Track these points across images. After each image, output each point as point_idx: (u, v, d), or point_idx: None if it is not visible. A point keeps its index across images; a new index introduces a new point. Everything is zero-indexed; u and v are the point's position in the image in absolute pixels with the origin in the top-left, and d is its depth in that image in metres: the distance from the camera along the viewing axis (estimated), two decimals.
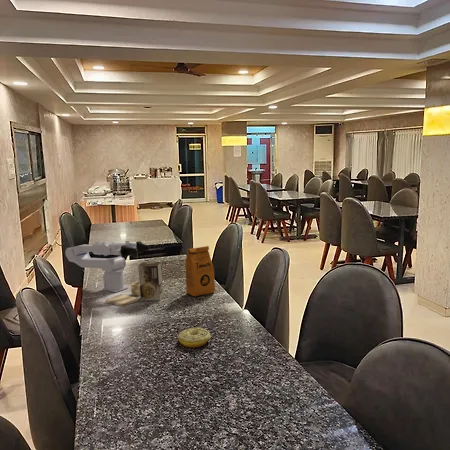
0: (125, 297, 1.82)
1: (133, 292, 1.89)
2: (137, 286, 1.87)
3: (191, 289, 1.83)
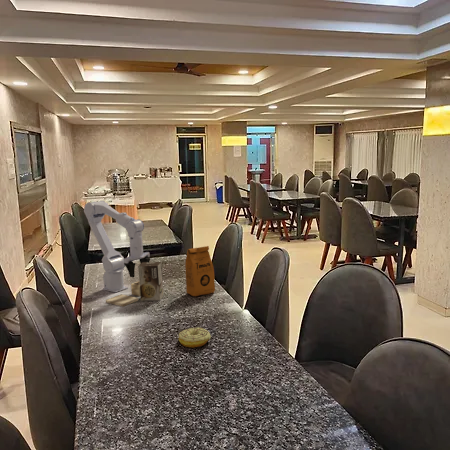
0: (125, 297, 1.82)
1: (133, 292, 1.89)
2: (137, 286, 1.87)
3: (191, 289, 1.83)
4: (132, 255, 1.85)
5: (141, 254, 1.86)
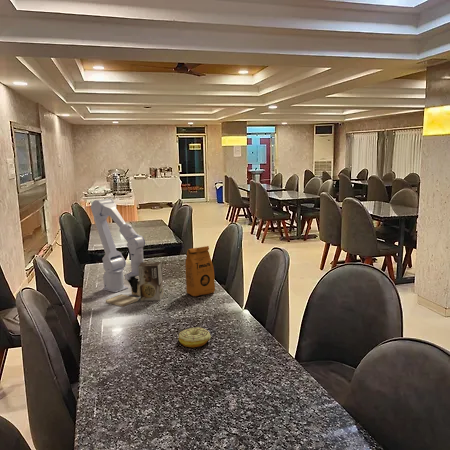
0: (125, 297, 1.82)
1: (133, 292, 1.89)
2: (137, 286, 1.87)
3: (191, 289, 1.83)
4: (133, 271, 1.87)
5: None
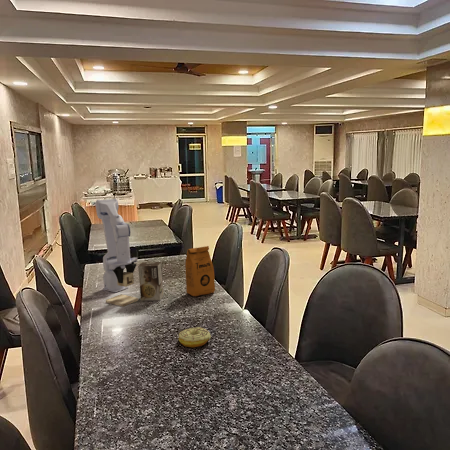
0: (125, 297, 1.82)
1: (119, 283, 1.80)
2: (123, 276, 1.78)
3: (191, 289, 1.83)
4: (119, 261, 1.78)
5: (128, 260, 1.79)
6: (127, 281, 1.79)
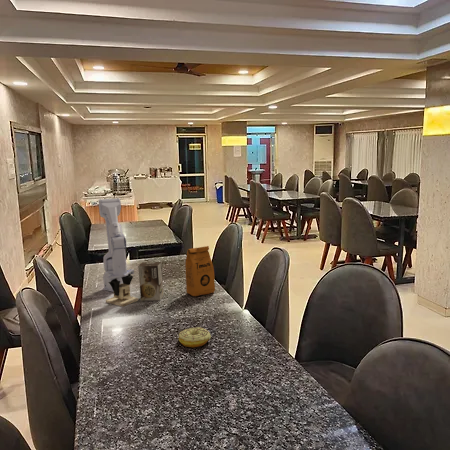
0: None
1: (115, 295, 1.79)
2: (119, 289, 1.77)
3: (191, 289, 1.83)
4: (115, 273, 1.76)
5: (124, 272, 1.77)
6: (123, 293, 1.77)
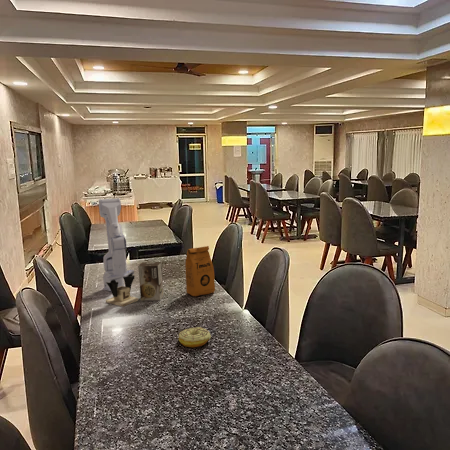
0: None
1: (115, 297, 1.79)
2: (119, 291, 1.77)
3: (191, 289, 1.83)
4: (115, 274, 1.76)
5: (124, 272, 1.77)
6: (123, 296, 1.78)
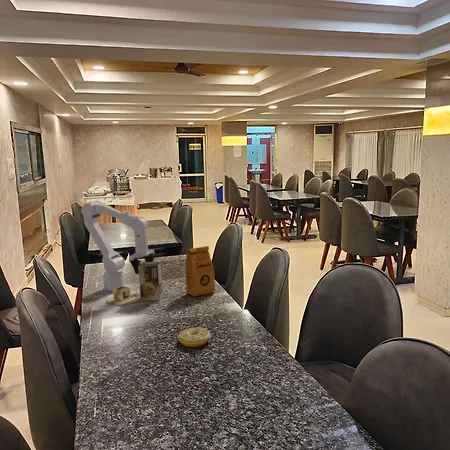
0: None
1: (115, 297, 1.79)
2: (119, 291, 1.77)
3: (191, 289, 1.83)
4: (137, 252, 1.89)
5: (146, 251, 1.89)
6: (123, 296, 1.78)
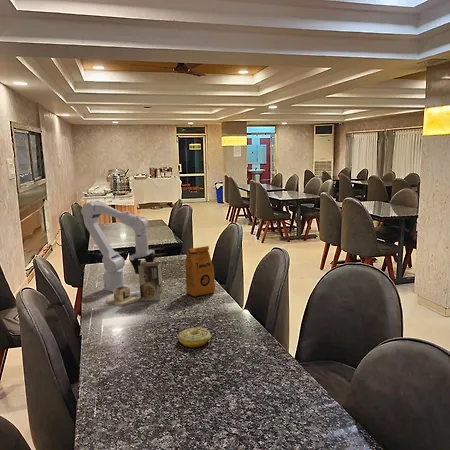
0: None
1: (115, 297, 1.79)
2: (119, 291, 1.77)
3: (191, 289, 1.83)
4: (138, 252, 1.89)
5: (146, 251, 1.90)
6: (123, 296, 1.78)
